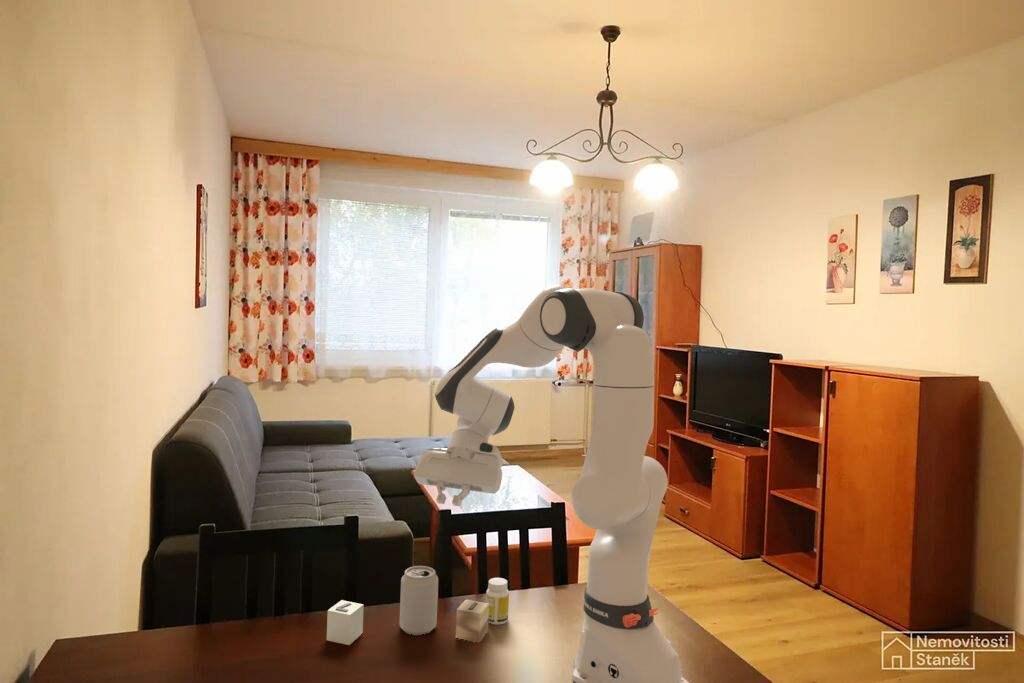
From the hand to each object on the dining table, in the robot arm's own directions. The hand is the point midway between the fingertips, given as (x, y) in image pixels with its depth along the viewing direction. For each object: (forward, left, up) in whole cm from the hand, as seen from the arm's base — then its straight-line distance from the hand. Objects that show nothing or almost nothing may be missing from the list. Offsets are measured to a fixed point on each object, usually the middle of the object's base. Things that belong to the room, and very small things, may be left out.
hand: (447, 503), depth 150 cm
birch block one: (-16, +2, -22) cm, 28 cm away
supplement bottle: (-13, -6, -23) cm, 27 cm away
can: (-8, +10, -23) cm, 26 cm away
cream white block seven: (-4, +24, -22) cm, 33 cm away
